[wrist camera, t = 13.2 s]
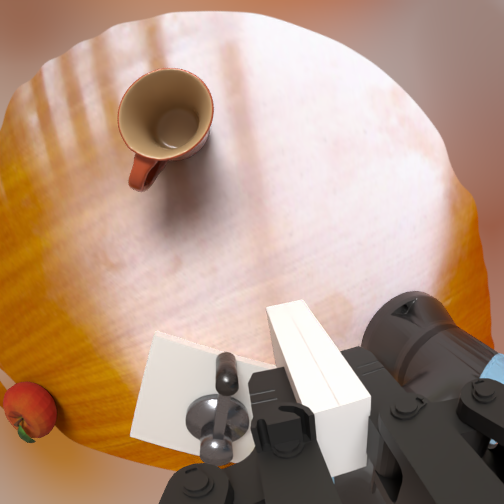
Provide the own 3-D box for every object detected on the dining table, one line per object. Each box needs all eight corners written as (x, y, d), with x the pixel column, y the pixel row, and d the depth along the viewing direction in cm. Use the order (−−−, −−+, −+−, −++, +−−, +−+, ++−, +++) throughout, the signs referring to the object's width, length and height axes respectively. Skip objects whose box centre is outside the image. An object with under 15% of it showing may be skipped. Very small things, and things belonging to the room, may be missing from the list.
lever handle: (240, 452, 43) (243, 481, 37) (184, 447, 42) (181, 476, 36) (262, 354, 40) (268, 382, 33) (191, 347, 39) (187, 374, 32)
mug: (163, 87, 34) (144, 56, 24) (228, 113, 35) (230, 87, 25) (121, 176, 35) (88, 173, 25) (185, 204, 37) (171, 209, 27)
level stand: (308, 372, 43) (324, 407, 35) (258, 460, 46) (264, 496, 38) (156, 330, 40) (142, 362, 31) (131, 430, 43) (120, 466, 34)
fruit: (30, 362, 39) (0, 395, 29) (73, 403, 41) (50, 442, 31) (11, 387, 40) (-16, 418, 30) (49, 424, 41) (29, 459, 32)
